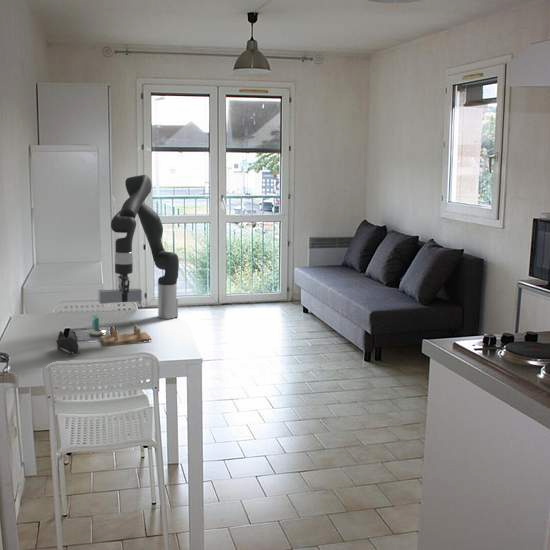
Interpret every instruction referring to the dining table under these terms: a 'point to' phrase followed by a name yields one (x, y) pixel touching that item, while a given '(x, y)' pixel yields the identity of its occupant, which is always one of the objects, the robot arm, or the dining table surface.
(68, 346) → the figurine
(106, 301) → the bar
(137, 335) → the peg rack
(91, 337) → the gray base plate
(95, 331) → the teal handled round piece
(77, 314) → the dining table surface
